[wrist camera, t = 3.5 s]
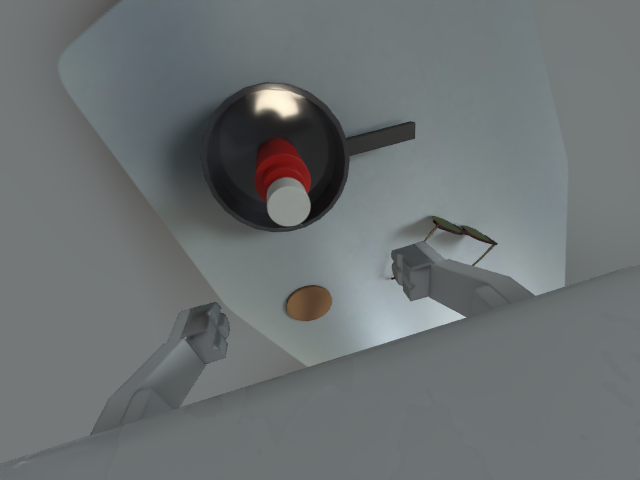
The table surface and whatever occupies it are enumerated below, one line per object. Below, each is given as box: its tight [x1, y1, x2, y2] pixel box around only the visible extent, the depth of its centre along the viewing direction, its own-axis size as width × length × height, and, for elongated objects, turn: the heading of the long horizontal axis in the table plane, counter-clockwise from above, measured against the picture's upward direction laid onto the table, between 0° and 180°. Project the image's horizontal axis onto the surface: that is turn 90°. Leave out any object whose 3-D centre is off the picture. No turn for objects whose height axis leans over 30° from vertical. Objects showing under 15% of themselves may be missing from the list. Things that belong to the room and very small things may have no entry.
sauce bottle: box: [255, 138, 311, 226], centre depth 26 cm, size 6×6×16 cm
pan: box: [201, 83, 350, 232], centre depth 31 cm, size 17×17×5 cm
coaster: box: [287, 285, 332, 321], centre depth 48 cm, size 9×9×1 cm
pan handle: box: [346, 121, 415, 156], centre depth 31 cm, size 9×2×1 cm, turn 102°
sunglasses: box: [391, 216, 498, 280], centre depth 47 cm, size 14×15×5 cm
